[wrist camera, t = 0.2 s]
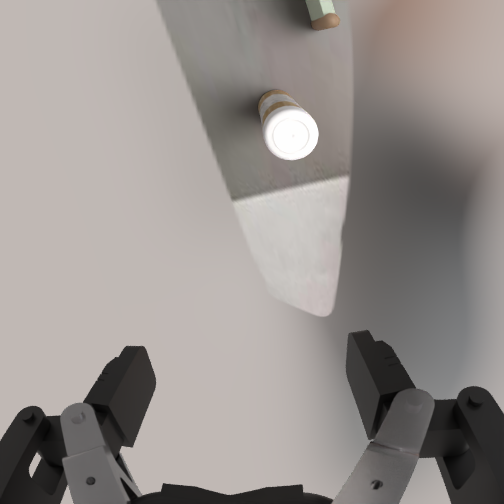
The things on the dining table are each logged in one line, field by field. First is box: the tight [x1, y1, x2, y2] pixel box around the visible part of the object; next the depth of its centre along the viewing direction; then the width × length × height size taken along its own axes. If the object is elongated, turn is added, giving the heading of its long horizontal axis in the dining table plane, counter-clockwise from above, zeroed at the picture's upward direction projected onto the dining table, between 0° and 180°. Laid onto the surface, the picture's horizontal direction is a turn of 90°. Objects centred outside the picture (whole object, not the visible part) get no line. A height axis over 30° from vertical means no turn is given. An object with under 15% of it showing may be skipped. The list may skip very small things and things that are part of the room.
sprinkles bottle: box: [258, 90, 318, 160], centre depth 28 cm, size 5×5×14 cm
